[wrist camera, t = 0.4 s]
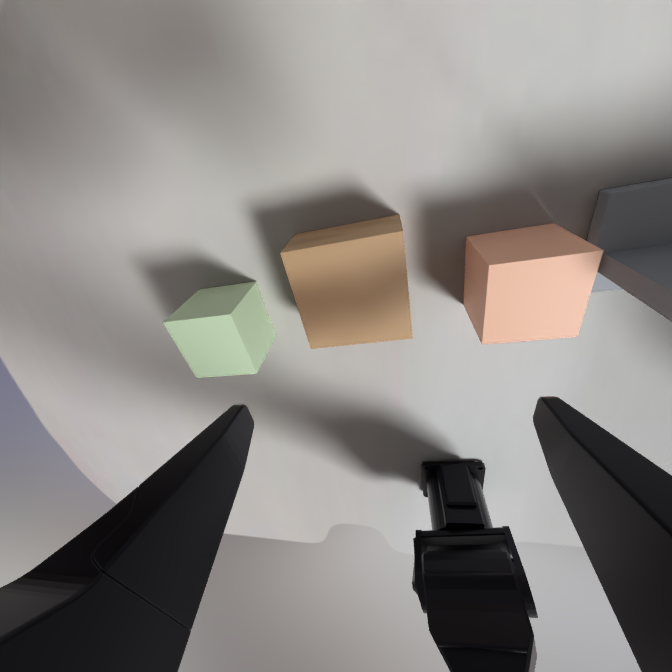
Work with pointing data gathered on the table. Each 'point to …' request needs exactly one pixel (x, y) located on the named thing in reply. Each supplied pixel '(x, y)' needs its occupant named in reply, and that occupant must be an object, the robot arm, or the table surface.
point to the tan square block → (351, 282)
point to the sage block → (223, 330)
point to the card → (635, 242)
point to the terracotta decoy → (528, 283)
